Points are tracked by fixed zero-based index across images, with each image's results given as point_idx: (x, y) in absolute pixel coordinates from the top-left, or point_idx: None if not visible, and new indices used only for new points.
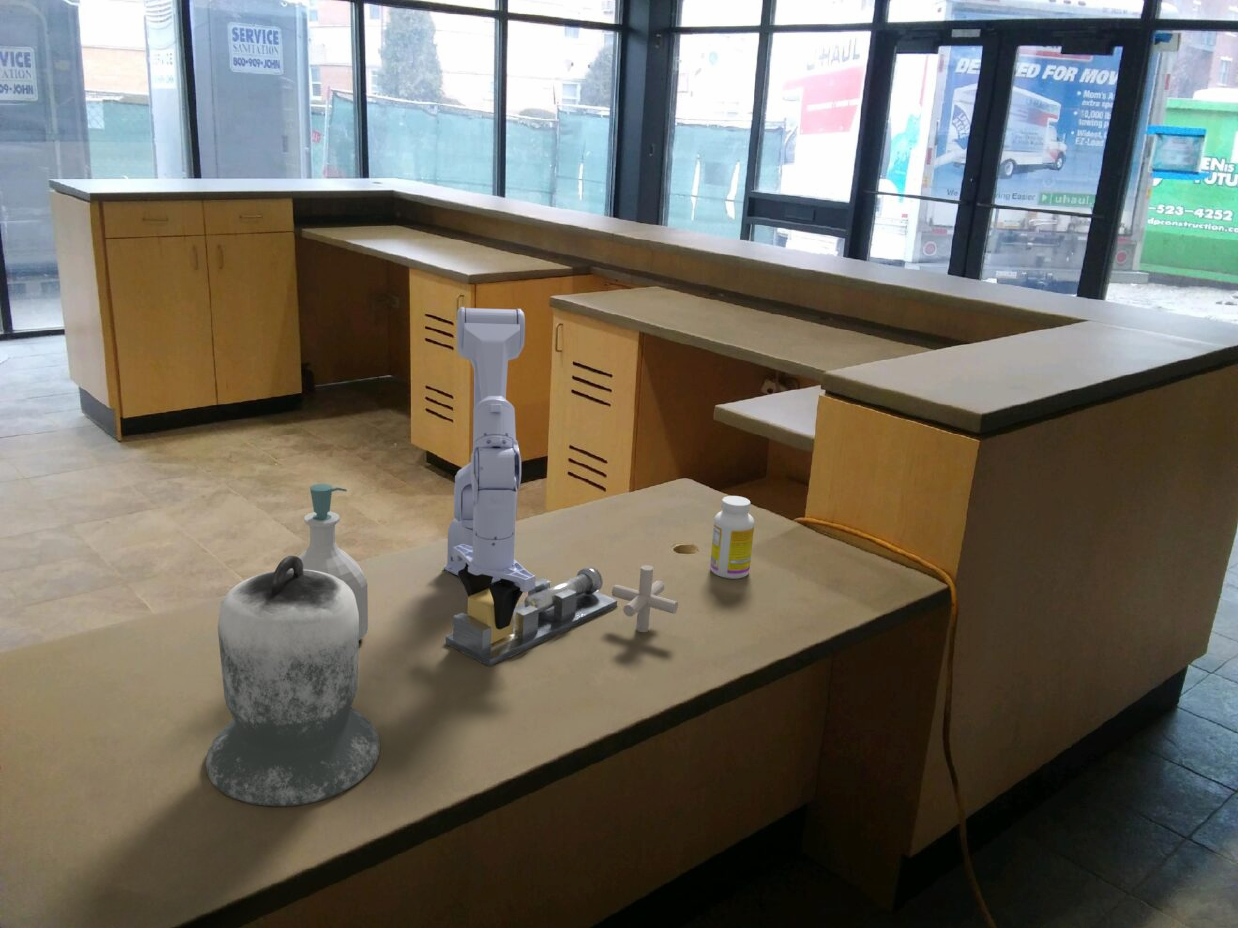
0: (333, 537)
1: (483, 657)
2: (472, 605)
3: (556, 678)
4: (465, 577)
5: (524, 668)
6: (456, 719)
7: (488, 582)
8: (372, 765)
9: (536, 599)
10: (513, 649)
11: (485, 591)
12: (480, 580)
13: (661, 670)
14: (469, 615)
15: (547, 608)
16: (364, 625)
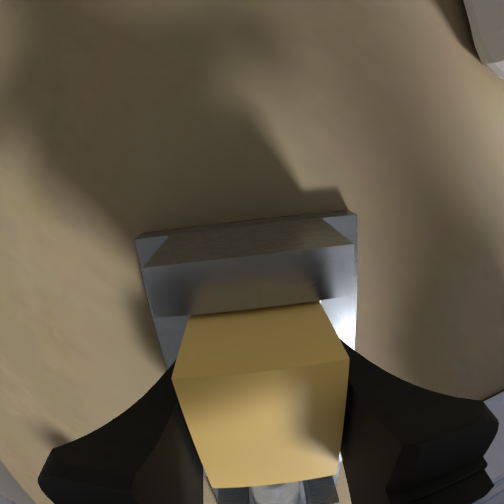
0: None
1: (164, 235)
2: (300, 341)
3: (30, 326)
4: (421, 440)
5: (89, 303)
6: (12, 37)
7: (351, 477)
8: None
9: (260, 490)
10: (157, 334)
11: (327, 440)
12: (366, 471)
13: (24, 443)
14: (310, 307)
15: None
16: (495, 42)
